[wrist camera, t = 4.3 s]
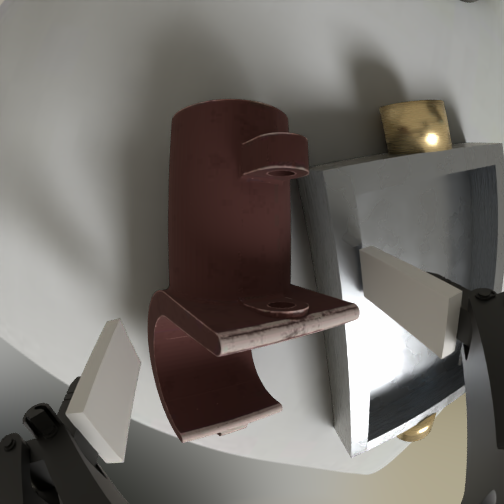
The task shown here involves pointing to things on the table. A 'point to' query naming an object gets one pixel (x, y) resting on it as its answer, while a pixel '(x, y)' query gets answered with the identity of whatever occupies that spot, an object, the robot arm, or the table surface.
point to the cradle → (409, 250)
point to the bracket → (229, 266)
